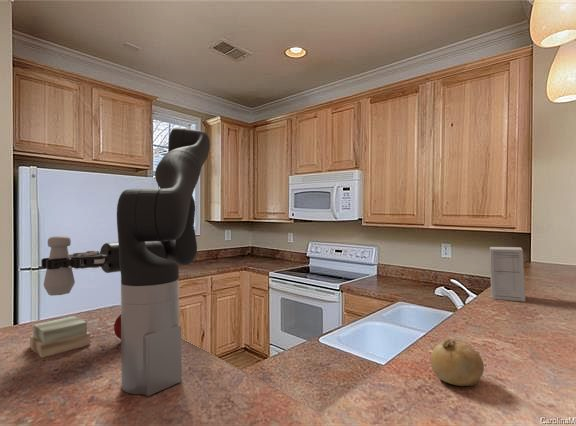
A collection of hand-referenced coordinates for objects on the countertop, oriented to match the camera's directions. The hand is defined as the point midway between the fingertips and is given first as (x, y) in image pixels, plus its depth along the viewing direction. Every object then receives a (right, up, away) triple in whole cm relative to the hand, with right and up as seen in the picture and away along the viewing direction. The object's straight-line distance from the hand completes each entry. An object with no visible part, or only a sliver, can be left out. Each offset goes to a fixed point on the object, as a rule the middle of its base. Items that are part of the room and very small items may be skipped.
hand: (44, 263), depth 72 cm
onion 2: (+82, -17, -17) cm, 86 cm away
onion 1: (+17, -19, +3) cm, 25 cm away
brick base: (+3, -19, +1) cm, 19 cm away
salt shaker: (+2, -7, +2) cm, 8 cm away
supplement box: (+128, -18, +38) cm, 135 cm away
